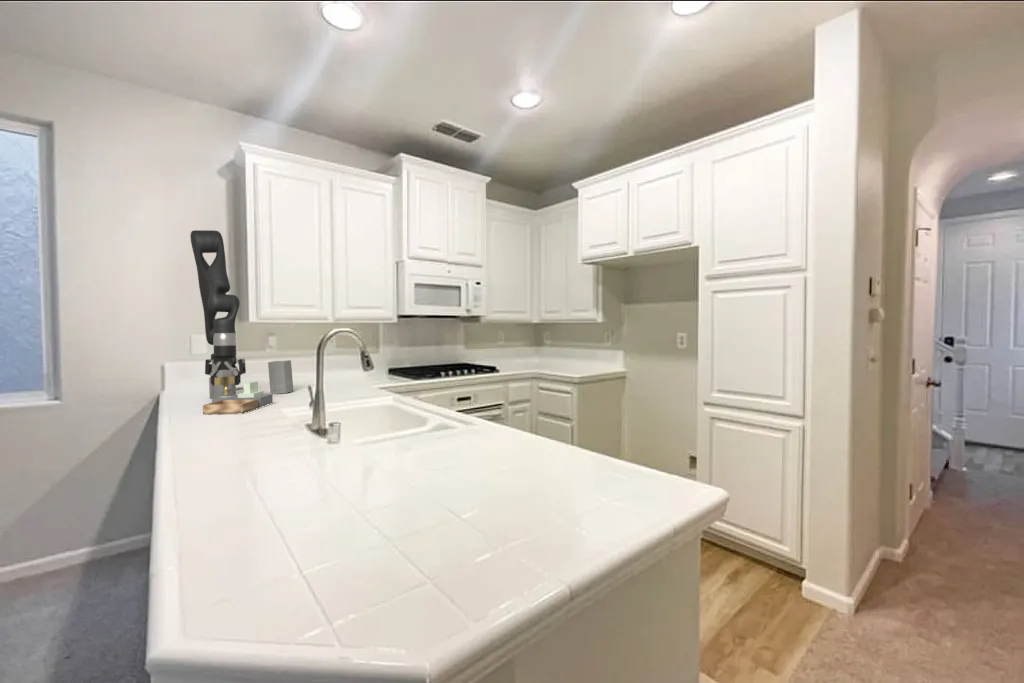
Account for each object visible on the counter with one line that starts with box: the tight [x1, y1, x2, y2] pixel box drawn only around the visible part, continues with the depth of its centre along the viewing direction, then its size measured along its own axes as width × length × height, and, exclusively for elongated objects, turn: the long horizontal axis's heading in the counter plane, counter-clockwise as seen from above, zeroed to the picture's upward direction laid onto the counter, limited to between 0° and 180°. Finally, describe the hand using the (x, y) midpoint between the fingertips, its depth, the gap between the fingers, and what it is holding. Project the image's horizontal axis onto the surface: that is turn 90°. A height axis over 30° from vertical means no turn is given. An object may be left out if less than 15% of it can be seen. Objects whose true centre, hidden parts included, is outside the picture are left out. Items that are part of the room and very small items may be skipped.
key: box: [214, 376, 244, 396], centre depth 176 cm, size 12×2×8 cm, turn 168°
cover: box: [237, 381, 265, 398], centre depth 175 cm, size 6×8×6 cm
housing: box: [211, 393, 274, 408], centre depth 175 cm, size 18×10×4 cm, turn 95°
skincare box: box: [267, 360, 294, 394], centre depth 213 cm, size 8×7×16 cm
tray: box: [202, 399, 260, 416], centre depth 163 cm, size 14×12×4 cm
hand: (225, 385), depth 174 cm, fingers open, 8 cm apart
